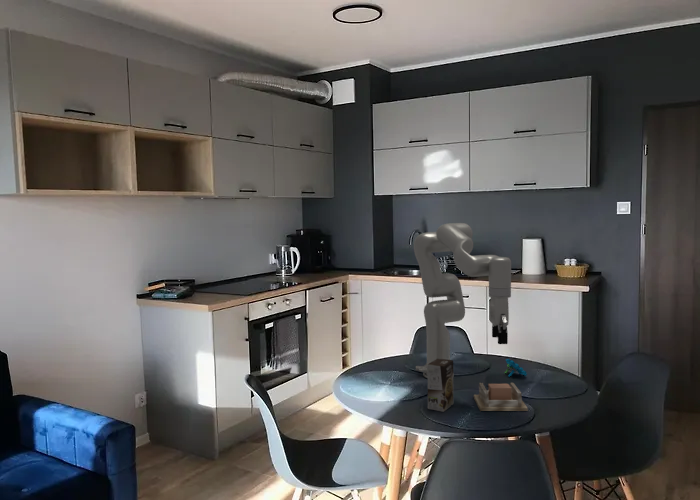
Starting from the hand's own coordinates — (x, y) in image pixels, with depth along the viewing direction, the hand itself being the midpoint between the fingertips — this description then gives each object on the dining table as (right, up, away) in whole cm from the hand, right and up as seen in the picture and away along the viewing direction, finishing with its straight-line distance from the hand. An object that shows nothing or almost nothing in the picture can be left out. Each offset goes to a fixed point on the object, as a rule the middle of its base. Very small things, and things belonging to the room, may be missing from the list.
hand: (499, 340), depth 200 cm
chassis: (0, -23, +2) cm, 23 cm away
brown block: (0, -22, +2) cm, 22 cm away
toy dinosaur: (+16, -20, +35) cm, 43 cm away
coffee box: (-21, -24, +1) cm, 31 cm away
